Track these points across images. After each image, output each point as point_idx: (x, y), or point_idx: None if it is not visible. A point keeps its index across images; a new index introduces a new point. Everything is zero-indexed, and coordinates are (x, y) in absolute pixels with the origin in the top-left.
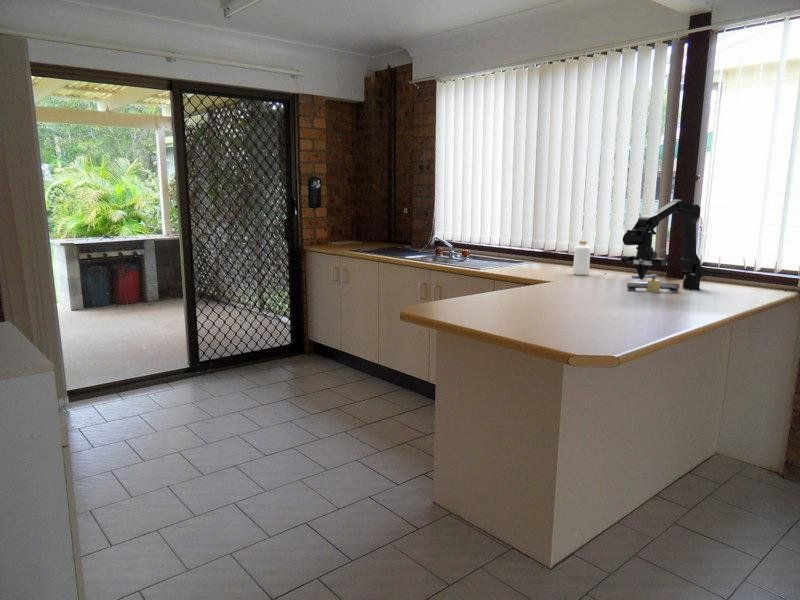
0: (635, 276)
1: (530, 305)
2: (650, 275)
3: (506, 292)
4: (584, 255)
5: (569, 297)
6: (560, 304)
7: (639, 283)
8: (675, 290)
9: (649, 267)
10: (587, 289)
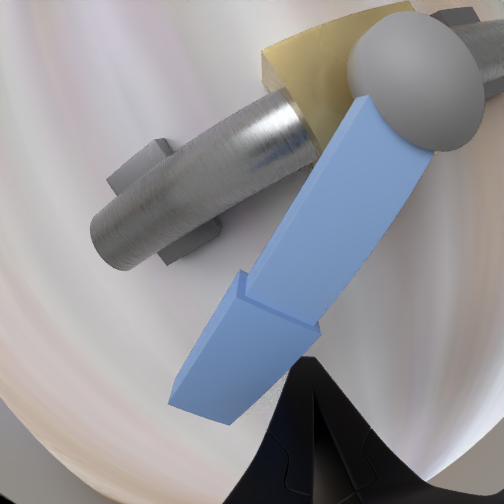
0: (232, 421)
1: (169, 500)
2: (390, 140)
3: (47, 443)
4: None
5: (142, 464)
6: (194, 496)
7: (224, 204)
8: (497, 85)
9: (442, 489)
10: (37, 345)
